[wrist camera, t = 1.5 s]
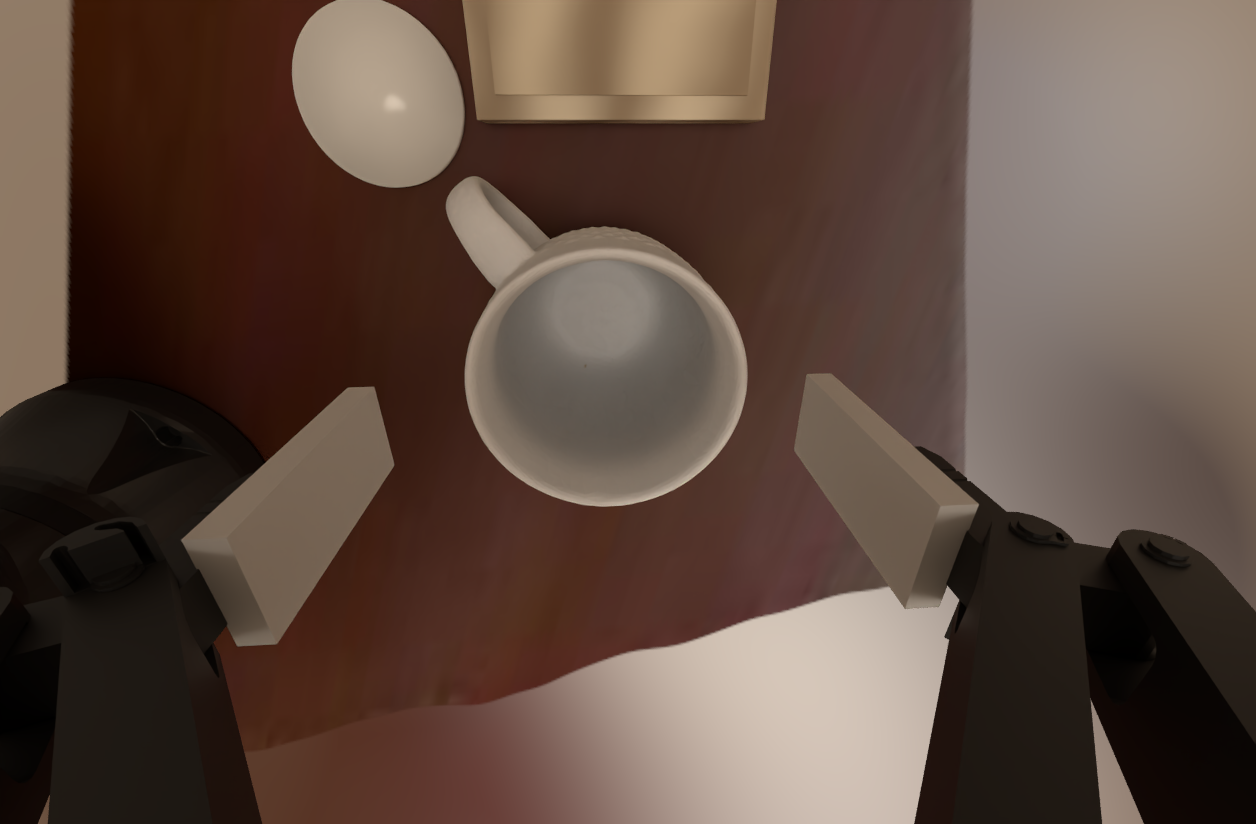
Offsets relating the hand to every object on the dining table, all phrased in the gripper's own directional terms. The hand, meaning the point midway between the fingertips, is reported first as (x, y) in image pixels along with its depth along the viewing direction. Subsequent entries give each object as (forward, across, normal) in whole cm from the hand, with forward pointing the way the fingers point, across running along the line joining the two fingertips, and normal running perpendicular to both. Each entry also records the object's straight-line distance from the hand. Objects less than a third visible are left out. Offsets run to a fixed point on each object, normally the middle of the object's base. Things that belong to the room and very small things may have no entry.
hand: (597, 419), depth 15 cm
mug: (+17, 0, 0) cm, 17 cm away
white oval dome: (+17, -10, +10) cm, 22 cm away
